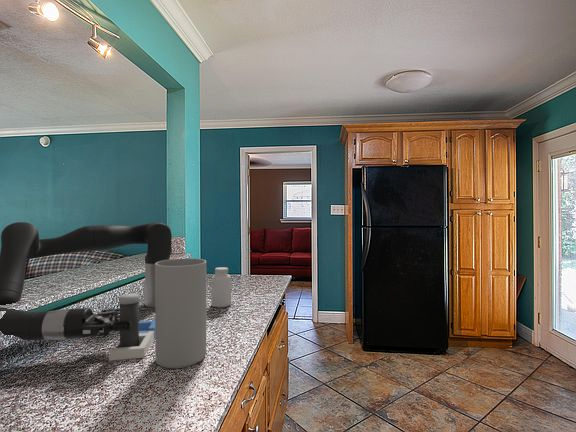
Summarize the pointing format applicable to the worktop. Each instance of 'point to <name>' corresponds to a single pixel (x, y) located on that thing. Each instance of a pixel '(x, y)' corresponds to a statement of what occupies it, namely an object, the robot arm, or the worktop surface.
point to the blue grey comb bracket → (137, 351)
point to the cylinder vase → (180, 312)
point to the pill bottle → (221, 288)
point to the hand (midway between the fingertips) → (135, 319)
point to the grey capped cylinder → (129, 319)
